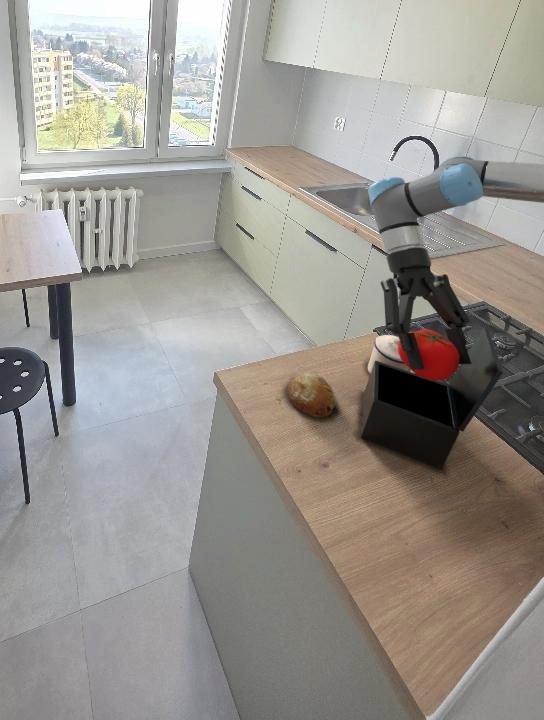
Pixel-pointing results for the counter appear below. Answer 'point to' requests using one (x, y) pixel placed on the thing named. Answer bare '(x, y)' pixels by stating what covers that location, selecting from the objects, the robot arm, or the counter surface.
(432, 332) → the tomato
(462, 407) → the bin lid
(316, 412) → the bread roll
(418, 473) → the counter surface
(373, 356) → the teacup with lid
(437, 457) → the black open box
